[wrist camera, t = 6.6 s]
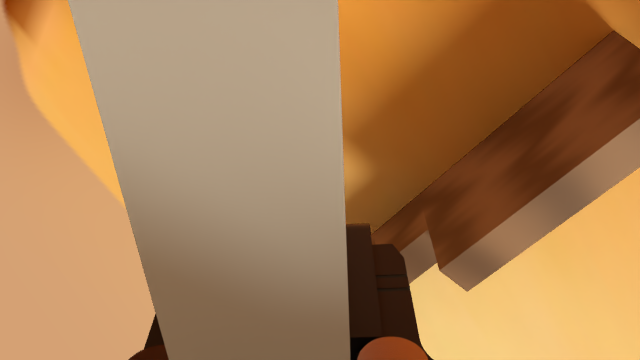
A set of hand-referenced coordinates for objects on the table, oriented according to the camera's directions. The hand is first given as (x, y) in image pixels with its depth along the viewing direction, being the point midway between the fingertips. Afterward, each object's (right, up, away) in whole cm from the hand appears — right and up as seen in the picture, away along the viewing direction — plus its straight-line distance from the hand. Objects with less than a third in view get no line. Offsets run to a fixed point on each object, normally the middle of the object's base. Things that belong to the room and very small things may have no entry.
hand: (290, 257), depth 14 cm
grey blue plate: (0, +5, +7) cm, 9 cm away
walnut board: (+10, +2, +26) cm, 28 cm away
